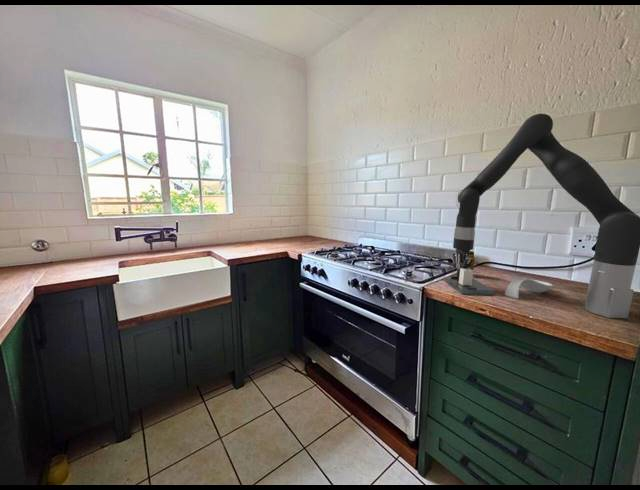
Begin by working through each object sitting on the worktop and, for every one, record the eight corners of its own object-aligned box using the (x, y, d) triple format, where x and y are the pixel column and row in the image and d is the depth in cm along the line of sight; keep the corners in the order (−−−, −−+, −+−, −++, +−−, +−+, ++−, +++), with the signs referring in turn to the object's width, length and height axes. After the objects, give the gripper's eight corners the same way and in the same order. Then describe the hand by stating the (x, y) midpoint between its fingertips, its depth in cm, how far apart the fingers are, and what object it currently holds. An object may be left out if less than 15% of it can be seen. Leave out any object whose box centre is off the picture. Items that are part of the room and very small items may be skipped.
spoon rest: (523, 284, 120) (525, 268, 118) (556, 292, 110) (559, 275, 108) (495, 293, 108) (497, 276, 106) (529, 303, 98) (532, 284, 96)
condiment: (458, 276, 130) (461, 252, 127) (456, 272, 137) (458, 248, 135) (475, 278, 127) (478, 253, 125) (472, 273, 135) (475, 250, 133)
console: (492, 295, 105) (493, 288, 104) (461, 294, 105) (462, 287, 105) (471, 282, 121) (472, 276, 120) (444, 281, 121) (445, 275, 121)
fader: (471, 285, 109) (473, 270, 108) (462, 285, 109) (464, 270, 108) (467, 282, 112) (469, 268, 111) (458, 282, 112) (460, 268, 111)
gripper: (481, 240, 106) (476, 282, 109) (465, 235, 119) (461, 273, 122) (462, 240, 106) (457, 282, 109) (448, 235, 119) (444, 273, 122)
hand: (459, 277), depth 115 cm, fingers closed
